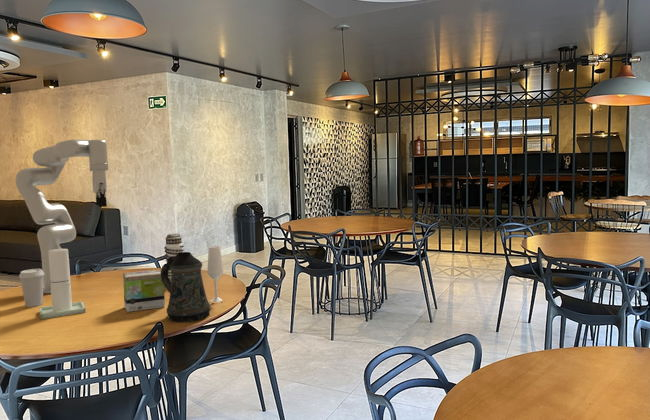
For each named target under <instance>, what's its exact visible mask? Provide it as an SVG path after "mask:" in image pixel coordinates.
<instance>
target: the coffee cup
mask: <svg viewBox="0 0 650 420" xmlns="http://www.w3.org/2000/svg"><path fill="white" fill-rule="evenodd" d="M43 275H44V272H43V270H42V268H32V269H25V270H22V271H20V273H19V275H18V278H20V285H21V289H22V295H23V301H24V305H25V308H36V307H39V306H42V305H43V302H44V293H43V288H44V283H43Z"/></svg>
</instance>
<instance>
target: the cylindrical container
mask: <svg viewBox="0 0 650 420" xmlns="http://www.w3.org/2000/svg"><path fill="white" fill-rule="evenodd" d="M48 255H49V269H50V281H51V293H50V294H51V295H50V296H51V306H52V309H53V312H60V311H66V310H72V303H73V301H72V299H73V297H72V288H71V287H72V286H71V272H70V271H71V269H70V258H69V249H68V248H62V249H54V250H49V251H48Z"/></svg>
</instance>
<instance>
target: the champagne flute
mask: <svg viewBox="0 0 650 420" xmlns="http://www.w3.org/2000/svg"><path fill="white" fill-rule="evenodd" d="M207 257H208V258H207V271H206V273H207V275H208V276H209V277H210V278H211V279H212V280H213V281H214V297H213V298H211V299H210V301H211V302H220V301H222V299H223V298H220V297H219V294H218V279H220V278H221V277H222V276H223V274H224V265H223V259H222V251H221V246H220V245H210V246H208V256H207Z"/></svg>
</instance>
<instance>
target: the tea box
mask: <svg viewBox="0 0 650 420" xmlns="http://www.w3.org/2000/svg"><path fill="white" fill-rule="evenodd" d="M122 274H123V275H122V277H123V278H122V281H123V283H122V284H123V301H124V302H123V303H124V305H123V306H124V308H125V311H126V313H130V312H135V311H136V312H137V311H143V310H144V311H145V310H152V309H161V307H164V308H165V303H166V301H165V286H164V284H163V282H162V279H161V269H151V270H140V271H133V272H131V271H130V272H123V273H122Z"/></svg>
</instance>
